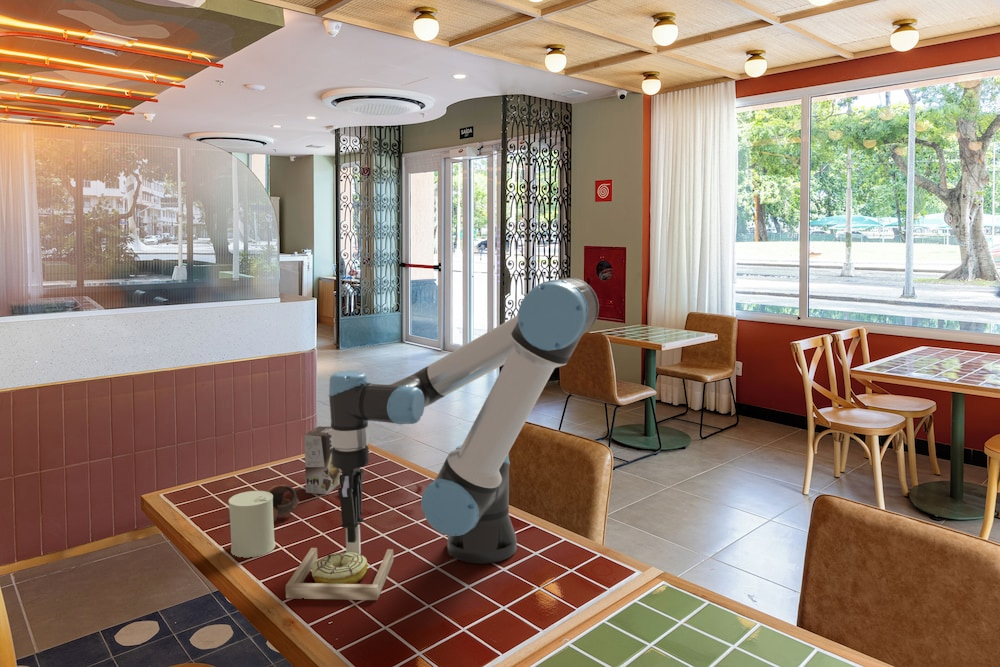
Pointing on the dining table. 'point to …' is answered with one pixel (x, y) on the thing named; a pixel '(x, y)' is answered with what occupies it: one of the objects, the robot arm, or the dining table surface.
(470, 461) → the robot arm
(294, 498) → the brown spiked ring
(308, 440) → the coffee box
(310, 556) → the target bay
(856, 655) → the dining table surface
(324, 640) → the dining table surface
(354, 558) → the decorated donut
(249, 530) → the can
